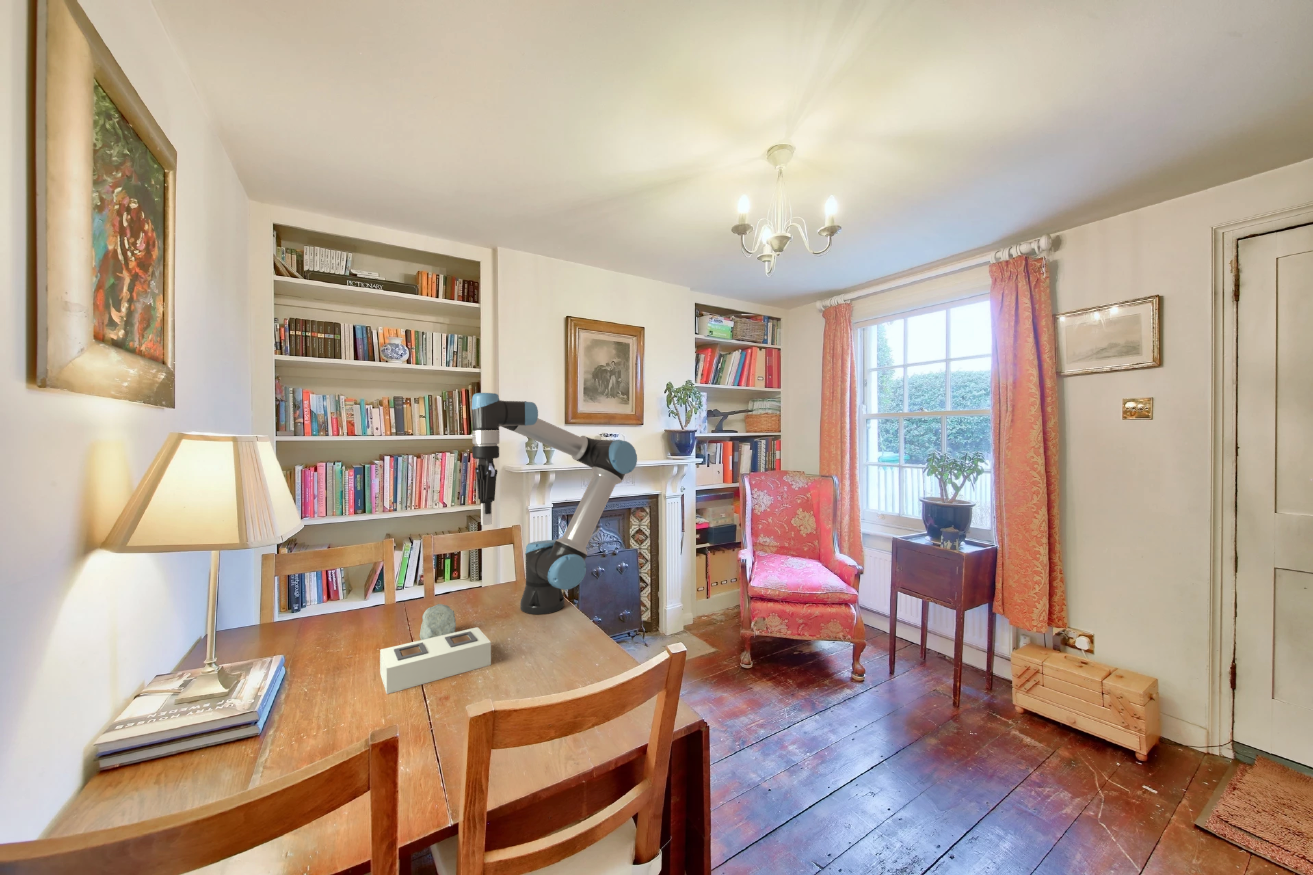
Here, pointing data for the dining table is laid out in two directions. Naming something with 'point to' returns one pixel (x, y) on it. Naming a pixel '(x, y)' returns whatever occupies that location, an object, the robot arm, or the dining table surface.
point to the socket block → (433, 659)
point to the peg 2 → (460, 639)
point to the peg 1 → (410, 651)
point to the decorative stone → (437, 622)
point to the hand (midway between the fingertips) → (486, 524)
